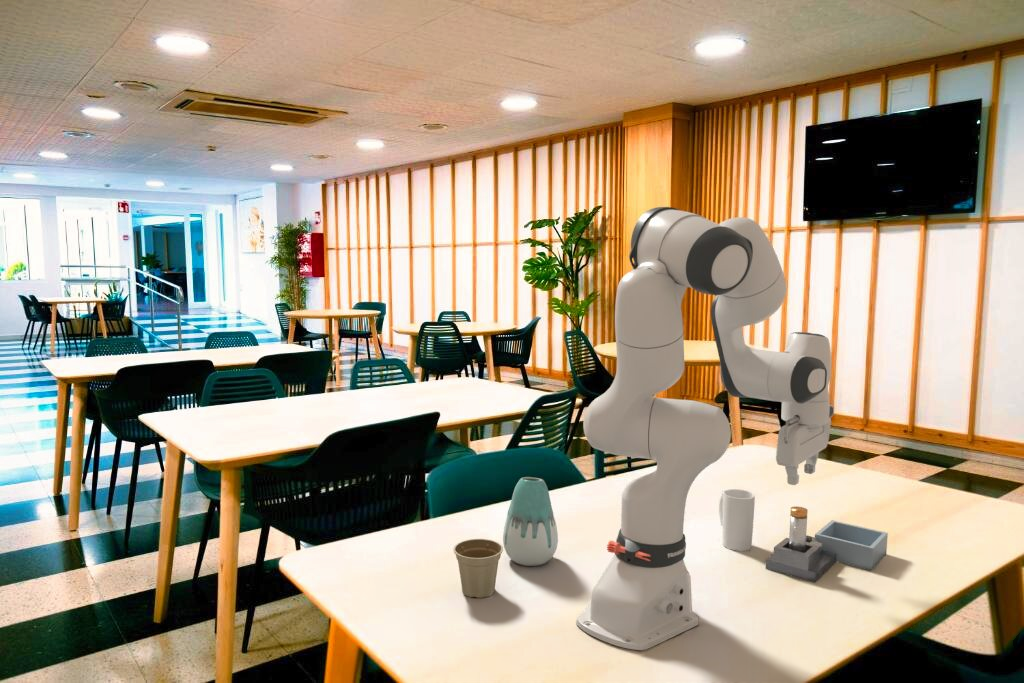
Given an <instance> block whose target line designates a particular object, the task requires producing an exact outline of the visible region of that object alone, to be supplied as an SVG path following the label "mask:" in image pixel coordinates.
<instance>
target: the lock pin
mask: <svg viewBox="0 0 1024 683" xmlns="http://www.w3.org/2000/svg"><path fill="white" fill-rule="evenodd" d="M789 516H790V517H789V536H788V538H789V549H791V550H795V551H799V552H802V553H805V549H806V536H807V531H808V530H807V528H808V527H807V526H808V508H806V507H803V506H791V507H790V514H789Z"/></svg>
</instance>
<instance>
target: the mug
mask: <svg viewBox="0 0 1024 683" xmlns="http://www.w3.org/2000/svg"><path fill="white" fill-rule="evenodd" d="M755 497H756V494H755V493H753V492H752V491H749V490H744V489H740V488H738V489H736V488H728V489H726V490H724V491H722V492H721V496H720V498H719V501H718V514H719V520H720V521H719V522H720V526H722V546H724V547H725V548H726V549H729V550H731V551H732V550H733V551H735V552H736V551H739V552H744V551H749V550H751V549H752V543H753V532H754V519H755V518H754V517H755V505H756V504H755V503H756V502H755V501H756V500H755Z"/></svg>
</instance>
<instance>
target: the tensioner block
mask: <svg viewBox="0 0 1024 683" xmlns="http://www.w3.org/2000/svg"><path fill="white" fill-rule="evenodd" d="M835 564H837V562H836V553H832V552H828V551H824V550H822V541H821V540H819V539H817V538H815V536H810V535H806V549H805V553H802V552H799V551H795V550H791V549H789V537H785V538H784V539H783V540H781V541H780V542H778V543H777V544H776V545H774V547H773V553H772V554H771V555H770V556H768V557H767V558H765V569H766V570H770V571H772V572H776V573H780V574H783V575H787V576H790V577H794V578H798V579H801V580H803V581H808V582H811V583H817V582H818V581H819V580H820V579H821V578H822V577H823V576H824V575H825V574H826V573H828V571H829V570H831V568H832V567H833V566H835Z"/></svg>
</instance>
